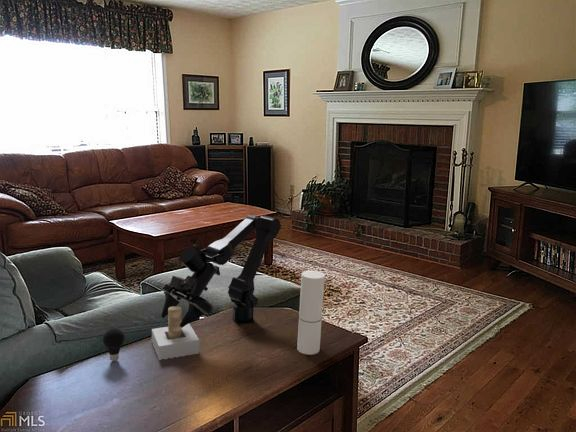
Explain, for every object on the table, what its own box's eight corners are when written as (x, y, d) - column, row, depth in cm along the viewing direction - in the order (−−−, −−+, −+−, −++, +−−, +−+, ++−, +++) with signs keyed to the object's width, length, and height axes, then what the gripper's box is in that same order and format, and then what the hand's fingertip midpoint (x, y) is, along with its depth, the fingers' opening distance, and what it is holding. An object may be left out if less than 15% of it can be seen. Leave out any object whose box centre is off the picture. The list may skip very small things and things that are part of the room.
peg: (183, 345, 150) (183, 306, 147) (178, 351, 146) (178, 312, 143) (171, 344, 150) (171, 305, 147) (166, 350, 146) (166, 310, 143)
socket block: (189, 336, 156) (189, 323, 155) (199, 353, 145) (199, 339, 144) (151, 342, 151) (151, 329, 150) (159, 360, 140) (158, 346, 139)
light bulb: (99, 362, 137) (97, 330, 135) (115, 354, 142) (114, 323, 140) (113, 368, 135) (112, 335, 133) (129, 359, 140) (128, 328, 138)
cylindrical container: (319, 344, 155) (325, 271, 149) (319, 355, 148) (324, 279, 142) (298, 342, 155) (302, 269, 150) (296, 353, 148) (300, 277, 143)
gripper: (167, 258, 151) (137, 300, 145) (205, 273, 140) (174, 319, 134) (187, 276, 159) (159, 317, 153) (225, 292, 147) (196, 336, 141)
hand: (171, 322), depth 145 cm, fingers open, 9 cm apart
